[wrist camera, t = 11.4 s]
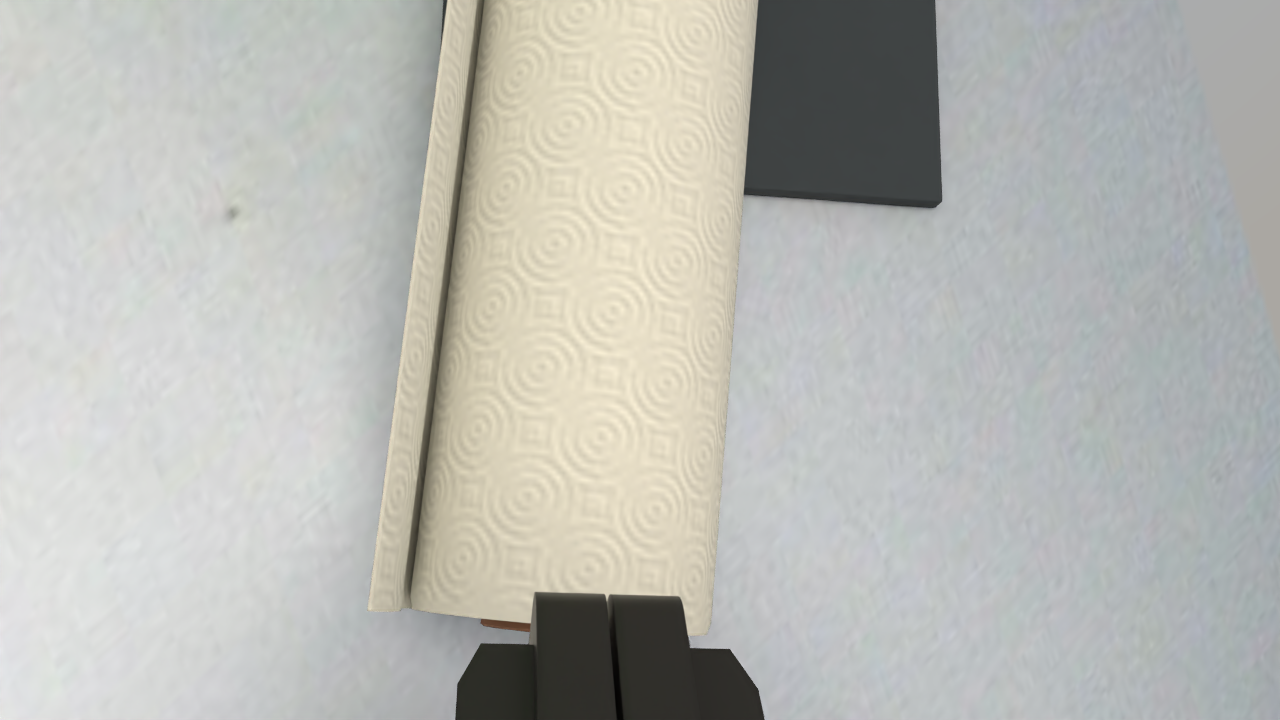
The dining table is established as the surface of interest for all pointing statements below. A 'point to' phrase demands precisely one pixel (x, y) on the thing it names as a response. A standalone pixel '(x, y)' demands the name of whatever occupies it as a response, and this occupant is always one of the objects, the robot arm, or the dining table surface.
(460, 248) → the paper towel roll
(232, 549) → the dining table surface
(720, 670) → the robot arm
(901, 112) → the mat
